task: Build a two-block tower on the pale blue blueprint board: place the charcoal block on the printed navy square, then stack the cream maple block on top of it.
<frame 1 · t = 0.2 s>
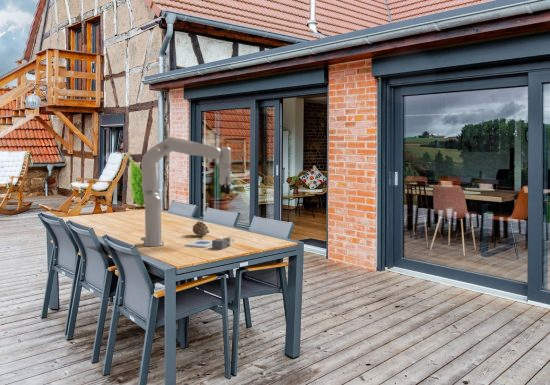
hand: (225, 193, 309), 31 cm above the table, tool pointing down, fingers open, 9 cm apart
pine cone: (202, 237, 326), on the table
blueprint board: (202, 244, 300), on the table
cream block: (228, 245, 298), on the table
charcoal block: (219, 248, 289), on the table
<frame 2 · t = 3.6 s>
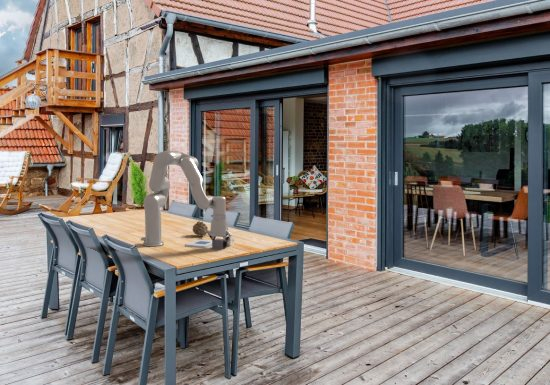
hand: (219, 246, 289), 1 cm above the table, tool pointing down, fingers closed on charcoal block, 6 cm apart
charcoal block: (219, 248, 289), on the table, touching gripper
everything else where it was.
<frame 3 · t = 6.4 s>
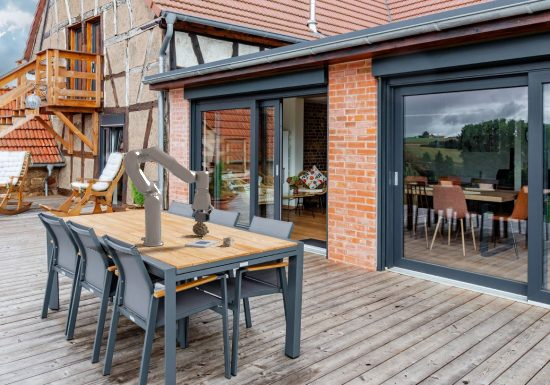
hand: (202, 219, 298), 15 cm above the table, tool pointing down, fingers closed on charcoal block, 6 cm apart
charcoal block: (202, 221, 299), point 15 cm above the table, touching gripper
everything else where it was.
when the fingers open (3 cm above the table, at t = 9.4 s): charcoal block stays where it is, resting on blueprint board.
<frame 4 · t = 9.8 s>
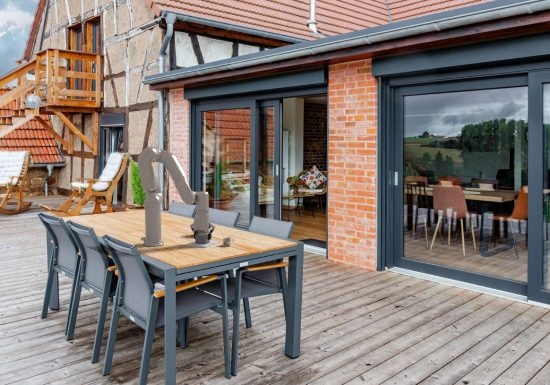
hand: (202, 239, 300), 3 cm above the table, tool pointing down, fingers open, 9 cm apart
charcoal block: (202, 242, 300), point 1 cm above the table, touching blueprint board
everything else where it was.
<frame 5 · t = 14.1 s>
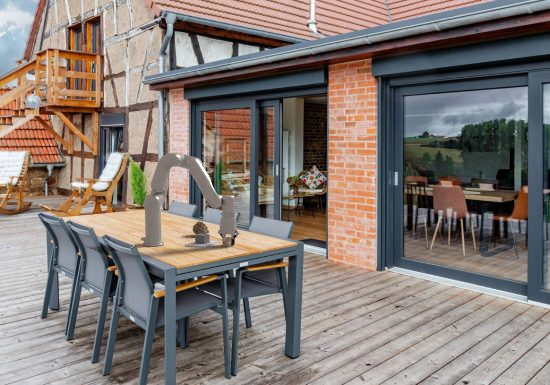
hand: (228, 244, 298), 1 cm above the table, tool pointing down, fingers closed on cream block, 5 cm apart
cream block: (228, 245, 298), on the table, touching gripper
everything else where it was.
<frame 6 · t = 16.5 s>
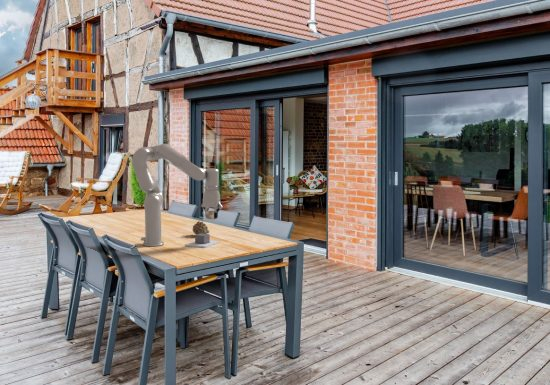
hand: (211, 217, 298), 17 cm above the table, tool pointing down, fingers closed on cream block, 5 cm apart
cream block: (211, 218, 298), point 16 cm above the table, touching gripper
everything else where it was.
when the fingers open (7 cm above the table, at t = 19.2 s): cream block stays where it is, resting on charcoal block.
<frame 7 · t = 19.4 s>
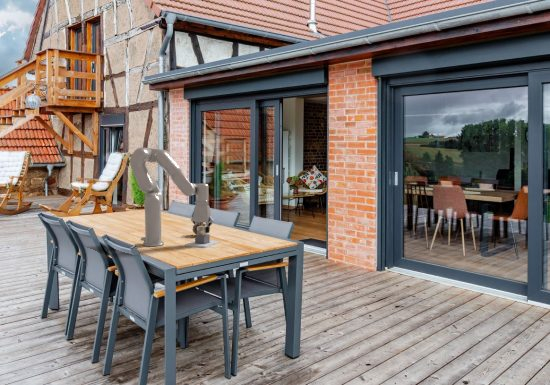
hand: (202, 232, 299), 8 cm above the table, tool pointing down, fingers open, 6 cm apart
cream block: (202, 234, 299), point 6 cm above the table, touching charcoal block
charcoal block: (202, 242, 300), point 1 cm above the table, touching blueprint board, cream block
everything else where it was.
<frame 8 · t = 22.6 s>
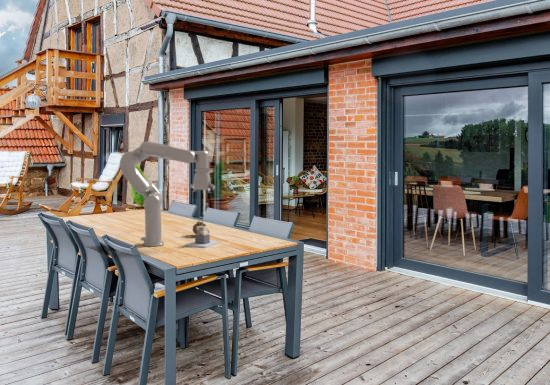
hand: (202, 198, 298), 28 cm above the table, tool pointing down, fingers open, 9 cm apart
nothing on the table moved.
at the end: charcoal block 0.1 cm off-centre on the blueprint board, point 1.1 cm above the blueprint board's base; cream block 0.1 cm off-centre on the charcoal block, point 5.0 cm above the charcoal block's base; cream block tilted 0° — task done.
